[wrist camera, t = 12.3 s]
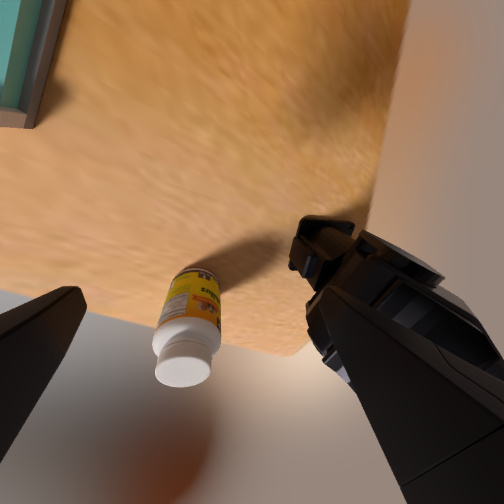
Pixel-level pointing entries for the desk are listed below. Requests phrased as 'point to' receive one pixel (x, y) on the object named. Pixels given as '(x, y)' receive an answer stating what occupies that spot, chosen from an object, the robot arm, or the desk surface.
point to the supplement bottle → (188, 329)
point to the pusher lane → (26, 56)
